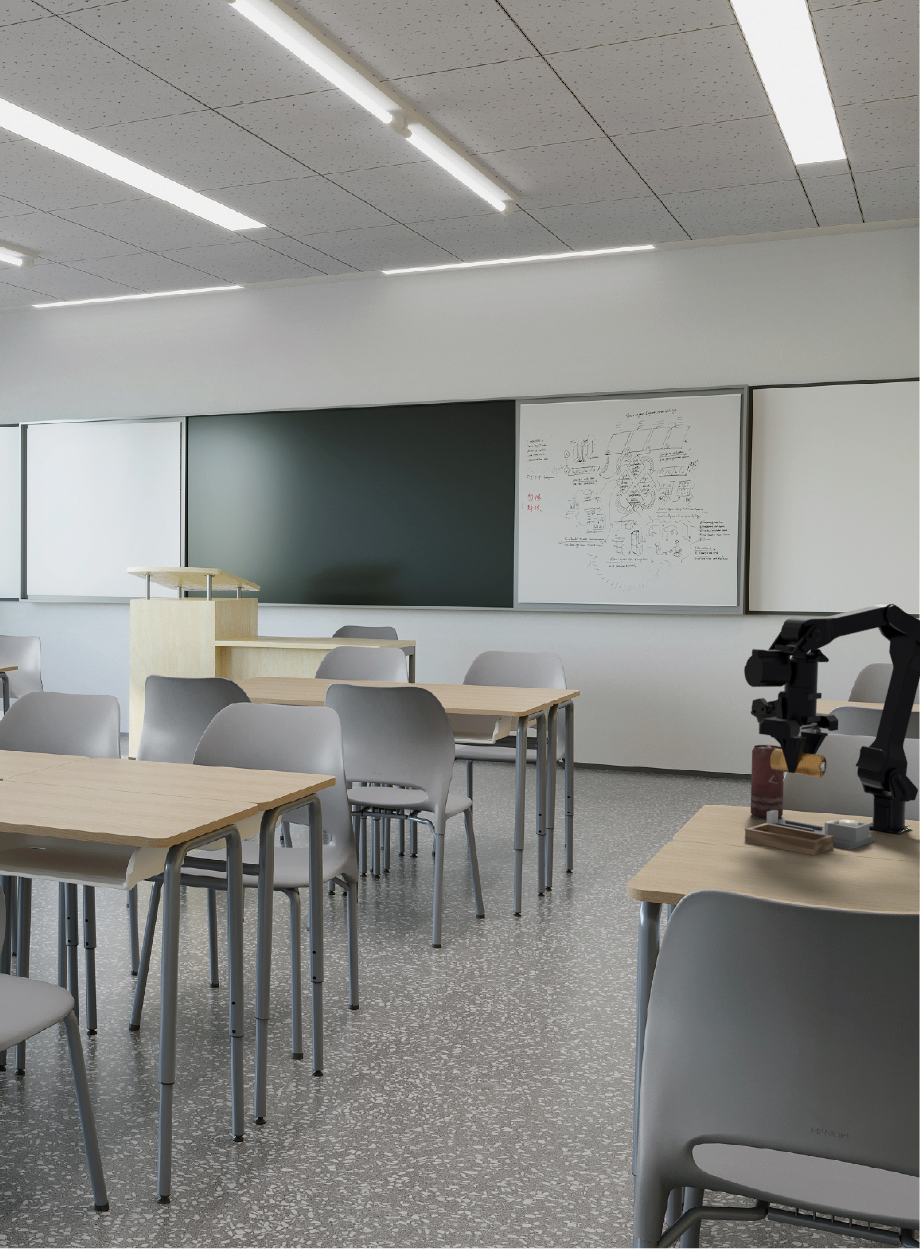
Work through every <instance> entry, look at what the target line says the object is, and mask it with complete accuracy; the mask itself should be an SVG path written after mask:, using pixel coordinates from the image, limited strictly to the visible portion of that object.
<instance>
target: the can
mask: <svg viewBox="0 0 920 1249" xmlns="http://www.w3.org/2000/svg"><path fill="white" fill-rule="evenodd" d="M775 749H781V750H782V748H781V746H778V745H772V744H757V745H754V746H753V749H752V750H751V776H750V777H751V782H750V783H751V786H750V789H751V790H750V814H751V816H752V817H753V818H756V819H761V820H767V812H768V811H771V810H777V811H778V820H780V819H782V816H783V814H784V782H785V781H784V780H785V779H784V776H785V775H784V774H785V772H782V771H776V770H773V769H772V768H771V765H770V757H771V754H772V752H773V751H774V750H775Z"/></svg>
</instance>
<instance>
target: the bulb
mask: <svg viewBox="0 0 920 1249" xmlns="http://www.w3.org/2000/svg"><path fill="white" fill-rule="evenodd" d="M838 820H839V819H838ZM858 822H859V821H857V820H852V819H845V820H839V824H840V825H845V826H851V827H857V826H858Z"/></svg>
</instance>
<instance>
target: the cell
mask: <svg viewBox="0 0 920 1249" xmlns="http://www.w3.org/2000/svg"><path fill="white" fill-rule="evenodd" d="M770 765H771V768H772V769H773V770H776V771H782V772H784V773H789V771H788V768H787V765H786V761H785V758H784V754H783V751H782V750H781V749H775V750H774V751H773V752H772V754H771V757H770ZM826 771H827V758H826V757H825V756H824V755H821V754H817V753H816V754H809V753H802V754H801V757H800V760H799V763H798V766H797V769H796V771H795V773H793V774H796V775H801V776H802V775H803V776H807V777H814V778H822V777H824V775H825V774H826ZM789 774H790V773H789Z"/></svg>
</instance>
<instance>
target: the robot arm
mask: <svg viewBox="0 0 920 1249" xmlns="http://www.w3.org/2000/svg"><path fill="white" fill-rule="evenodd" d="M873 629H878V630H879V632H880V634H881V635H882V636H883V637H884V638H885V639H886V640H888V641H889V649H888V652H889V657H890V660H891V663H892V672H891V675H890V678H889V679H890V680H889V684H888V687H887V688H888V689H887V693H886V696H885V700H884V704H883V708H882V712H881V717H880V720H879V723H878V728H877V733H876V736H875V739H874V740H873V742H872V743H871V744H869V746H865V745H862V746H861V748H860V749H859V757H858V760H857V762H856V764H855V767H857V773H856V774H857V777H858V778H859V780H860V782H861V785H862V788H863V792H864V793H865V794H869V795H870V794H871V795H872V799H873V800H872V819H871V820H872V821H871V822H870V823H868V824H869V830H870V829H871V830H876V831H880V832H888V833H891V834H901V832H902V831H903V830H906V829H908V828H907V827H908V826H909V825H908V826H905V825H906V808H907V807H906V803H907V802H910V801H915V800H916V799H917V795H918V792H919V790H918V787H917V786H916V785H915V784H914V782H912V780H911V779H910V778H909V777H908V775H907V773H908V772H907V770H908V760H907V757H906V756H907V755H906V753H905V750H904V744H905V739H906V736H907V732H908V728H909V724H910V719H911V716H912V711H913V708H914V704H915V699H916V697H917V696H916V695H917V692H918V687H919V683H920V618H919V619H918V618H917V617H915V616H913V615H911V614H909V613H907V612H905V611H904V610H903V609H902V608H900V607H899V606H897V605H896V604H894V603H875V604H874V605H872V606H866V607H863V608H859V609H855V610H850V611H845V612H842V613H838V614H834V615H829V616H821V617H819V616H818V617H813V616H812V617H809V616H808V617H807V616H806V617H804V616H803V617H790V618H788V619H786V620H784V622H783V625H782V626H781V630H780V632H779V633H778V635H777V636H776V637H775V639H774V641H773V642H772V644H771V645H770V647H769V648H768V649H767V650H766V649H759V648H753V649H752V650H751V655H750V656H749V657H748V659H747V660H746V663H745V665H744V668H743V669H744V670H743V673H744V678H745V681H746V683H747V684H748V686H750V687H752V688H774V687H777V688H778V687H780V688H781V687H784V689H783V690H780V691H779V693H778V694H777V699H775V700H770V701H767V700H766V698H764V697H761V698H760V697H759V698H756V699H753V700H752V703H751V704H752V705H751V711H750V715H752V716H754V717H755V718H756V721H757V723H758V734H759V735H765V736H769V737H771V738H773V739H774V740H775V741H776V742H778V743H779V745H780V747H781V748H782V751H783V754H784V758H785V761H786V765H787V768H788V771H789V774H790V773H791V774H794V773H795V771H796V769H797V766H798V763H799V760H800V757H801V754H802V753H809V754H816V755H817V753H818V751H819V749H820V747H821V746H822V744H823V743H824V740H825V738H826V737H828V736H829V733H827V732H822V729H825V730H826V729H827V730H828V731H829V732H833V731H835V732H836V731H838V730H839V719H838V718H837V717H836V715H835V714H829V713H820V712H817V708H818V707H817V705H818V704H817V703H818V700H819V699H820V700H821V699H822V692H818V679H819V678H818V677H819V676H818V674H819V671H818V670H819V663H828V662H829V661H830V659H829V657H827V656H826V655H825V654H824V653H823V652H822V650H821V648H823V647H825V646H827V645H829V644H831V643H832V642H833V641H834V640H835V639H837V638H840V637H844V636H848V635H853V634H856V633H860V632H864V631H869V630H873ZM902 833H903V832H902Z"/></svg>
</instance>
